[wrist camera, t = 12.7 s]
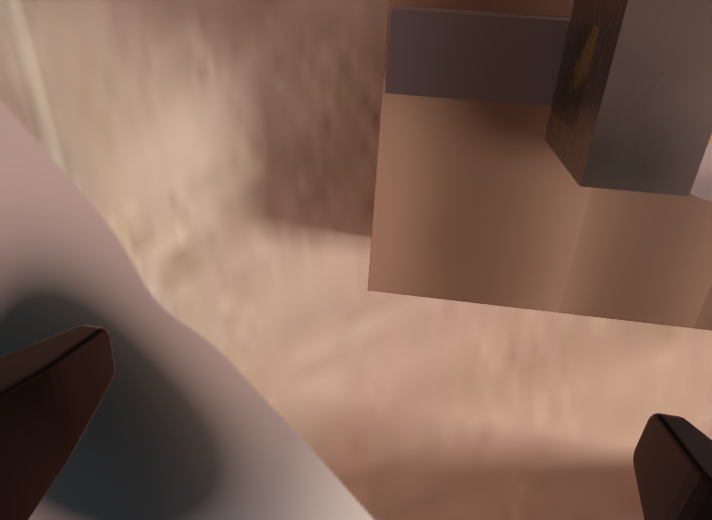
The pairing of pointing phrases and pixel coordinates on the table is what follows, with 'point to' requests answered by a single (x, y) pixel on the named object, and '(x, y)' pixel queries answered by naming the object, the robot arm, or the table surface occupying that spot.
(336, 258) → the table surface
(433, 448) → the table surface
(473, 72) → the hitch block
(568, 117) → the brass bolt
